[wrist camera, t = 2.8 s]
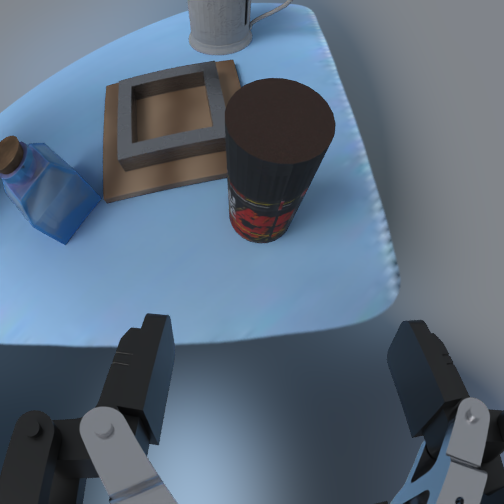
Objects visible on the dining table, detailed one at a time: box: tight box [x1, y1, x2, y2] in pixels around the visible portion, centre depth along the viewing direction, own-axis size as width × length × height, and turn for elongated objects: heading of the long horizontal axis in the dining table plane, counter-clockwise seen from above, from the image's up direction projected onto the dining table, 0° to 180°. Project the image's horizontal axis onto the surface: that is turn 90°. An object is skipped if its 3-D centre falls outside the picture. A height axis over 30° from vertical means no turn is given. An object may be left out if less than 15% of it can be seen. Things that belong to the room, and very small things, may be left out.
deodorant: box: [225, 78, 335, 243], centre depth 23 cm, size 6×6×15 cm
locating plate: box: [103, 60, 241, 203], centre depth 31 cm, size 16×16×4 cm
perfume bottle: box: [0, 136, 102, 245], centre depth 24 cm, size 6×6×12 cm
